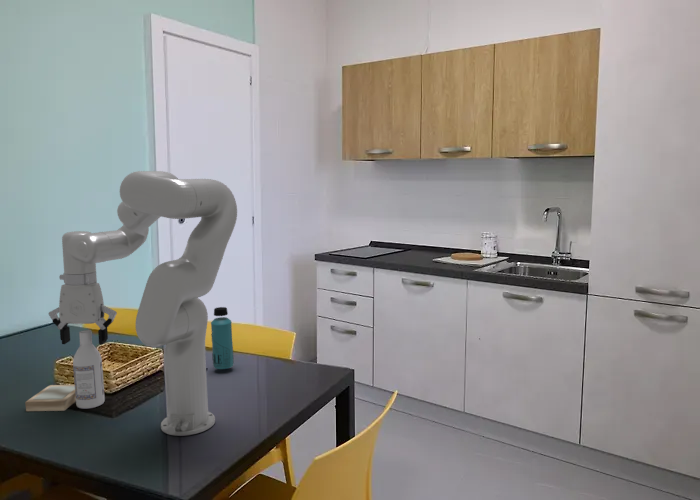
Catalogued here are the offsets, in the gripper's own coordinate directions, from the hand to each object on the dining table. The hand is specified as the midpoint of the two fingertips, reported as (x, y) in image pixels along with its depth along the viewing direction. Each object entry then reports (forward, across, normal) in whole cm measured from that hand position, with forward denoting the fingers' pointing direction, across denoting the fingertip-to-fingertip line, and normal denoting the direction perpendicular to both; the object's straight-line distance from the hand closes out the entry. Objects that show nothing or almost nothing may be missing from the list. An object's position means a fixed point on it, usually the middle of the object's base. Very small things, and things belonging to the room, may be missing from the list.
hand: (84, 342), depth 148 cm
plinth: (+17, -9, +2) cm, 19 cm away
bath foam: (+17, +1, 0) cm, 17 cm away
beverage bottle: (+17, +31, +25) cm, 43 cm away
